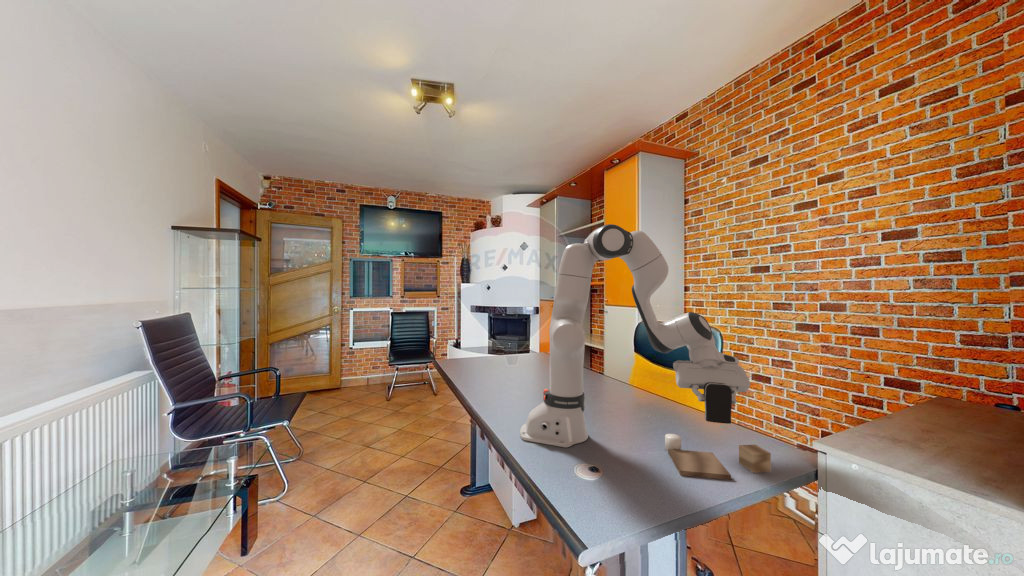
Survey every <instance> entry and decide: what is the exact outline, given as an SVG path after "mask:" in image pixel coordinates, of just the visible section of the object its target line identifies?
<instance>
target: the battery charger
mask: <svg viewBox="0 0 1024 576" xmlns="http://www.w3.org/2000/svg"><path fill="white" fill-rule="evenodd" d="M703 394H704V395H705V396H704V397H705V401H704V420H705V421H706V422H710V423H715V424H727V425H728V424H729V425H730V424H732V407H733V404H732V390H731V388H730V386H728V385H726V384H724V383H716V382H708V383H706V384H705V385H704V389H703Z"/></svg>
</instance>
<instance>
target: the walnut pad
mask: <svg viewBox="0 0 1024 576" xmlns="http://www.w3.org/2000/svg"><path fill="white" fill-rule="evenodd" d="M667 453H668V456H669V457H670V459H671V461H672V462H673V465H674V467H675V469H676V470H677V471H678V474H679V476H687V477H698V478H709V479H716V480H717V479H718V480H730V481H731V480H732V475H731V473H730V472H729V470H727V469H726V467H725V466H724V464H722V462H721V461H720V460H719V458H718V457H717V456H716V455H715V454H714V453H713V452H709V451H698V450H685V449H681V450H674V449H668V451H667Z"/></svg>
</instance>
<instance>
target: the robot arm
mask: <svg viewBox="0 0 1024 576" xmlns="http://www.w3.org/2000/svg"><path fill="white" fill-rule="evenodd" d="M614 258H619V259H621V260H623V262H624V263H625V264H626V267H628V269H629V271H630V272H631V275H632V277H633V278H632V279H633V285H632V286H631V292H632V293H631V294H632V298H633V300H634V303H635V306H636V309H637V311H638V314H639V316H640V318H641V321H642V324H643V326H644V328H645V331H646V335H647V337H648V340H649V343H650V345H651V347H652V348H653V350H654V351H656V352H659V353H662V354H668V353H670V352H673V351H675V350H676V349H679V348H682V347H687V349H688V357H689V360H680V359H678V360H677V359H676V361H673V363H672V367H673V370H674V372H675V383H676V385H677V387H679V388H681V389H691V391H692V393H694V395H695V396H696V397H697V400H698V402H704V403H705V397H704V396H705V395H704V393H701V391H700V390H704V385H705V384H706V383H708V382H716V383H724V384H726V385H728V386H730V388H731V390H732V405H736V404H737V402H738V401H737V397H736V396H737V393H746V392H747V391H748V390H749V389H750V387H751V382H750V379H749V376H748V374H747V373H746V371H745V369H744V368H743V367H742V366H741V365H740V360H739V358H738V357H736V356H732V355H729V354H726V353H723V352H720V351H719V350H718V348H717V347H716V339H715V336H714V334H713V331H712V329H711V325H710V324H709V321H708V320H707V319H706V318H705V317H704V316H703V315H701V314H699V313H696V312H692V311H689V312H686V313H683V314H680V315H677V316H676V317H673V318H671V319H668V320H665V321H663V322H659V321H658V319H657V317H656V314H655V312H654V308H653V307H652V304H651V300H650V299H651V297H652V295H653V294H654V293H655V292H656V291H657V290H658V289H659V288H661V286H662V285H663V283H664V282H665V281H666V279H667V277H668V274H669V265H668V262H667V261H666V259H665V257H664V254H663V253H662V252H661V251H660V249H659V248H658V246H657V245H656V243H654V241H653V240H652V239H651V238H650V236H648V234H647V233H646V232H644V231H641V230H633V231H631V232H629V231H628V230H626V229H624V228H623V227H621V226H619V225H616V224H613V223H612V224H611V223H609V224H603V225H602V226H600V227H596V228H595V229H594V230H592V232H590V233H589V234H588V235H587V237H586V238H585V239H584V241H583V242H582V243H579V242H576V243H571V244H569V245H567V246H566V247H565V248H564V249H563V253H562V255H561V259H560V263H559V267H558V273H557V279H556V286H555V293H554V299H553V305H552V309H551V318H550V323H549V329H548V333H549V389H548V388H544V390H543V392H542V394H543V398H542V399H543V402H541V403H540V404H538V405H537V406H536V407H533V409H532V410H530V411H529V414H528V416H527V418H526V422H524V424H522V426H521V427H520V430H519V436H520V439H521V440H523V441H526V442H533V443H538V444H544V445H548V446H549V445H550V446H554V447H561V448H569V447H571V446H573V445H576V444H581V443H583V442H585V441H587V440H588V439H589V433H588V431H587V430H588V429H587V425H586V419H585V408H586V406H585V405H586V397H585V393H584V363H585V361H584V360H585V349H586V348H585V347H586V333H585V330H584V329H583V323H584V320H585V314H586V311H587V306H588V303H589V297H590V289H591V284H592V277H593V276H592V275H593V269H594V267H595V264H596V262H602V261H609V260H612V259H614Z"/></svg>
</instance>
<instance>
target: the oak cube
mask: <svg viewBox="0 0 1024 576" xmlns="http://www.w3.org/2000/svg"><path fill="white" fill-rule="evenodd" d="M771 454H772V453H771V452H769V451H768V450H765V449H764V448H762V447H761V446H759V445H757V444H740V445H738V463H739V464H740V465H741V466H743V467H744V468H745V469H747V470H748V469H749V471H750V472H751V471H752V472H751V473H753V472H755V473H771V469H772V468H771V467H772V465H771V464H772V463H771V462H772V460H771V459H772V455H771Z"/></svg>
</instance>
